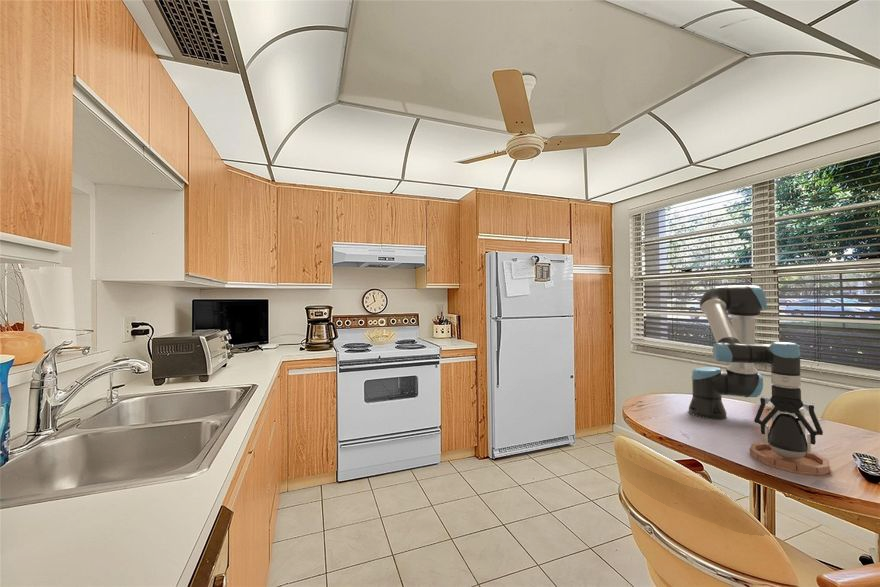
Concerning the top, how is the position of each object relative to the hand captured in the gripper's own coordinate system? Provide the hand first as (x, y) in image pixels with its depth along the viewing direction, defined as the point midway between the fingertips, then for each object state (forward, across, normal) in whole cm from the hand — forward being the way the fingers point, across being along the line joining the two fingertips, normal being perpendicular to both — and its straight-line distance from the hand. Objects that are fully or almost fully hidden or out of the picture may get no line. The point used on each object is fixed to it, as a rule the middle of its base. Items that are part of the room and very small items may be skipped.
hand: (787, 448), depth 126 cm
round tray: (+5, 0, 0) cm, 5 cm away
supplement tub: (+5, -1, +23) cm, 23 cm away
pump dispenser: (+3, 0, 0) cm, 3 cm away
